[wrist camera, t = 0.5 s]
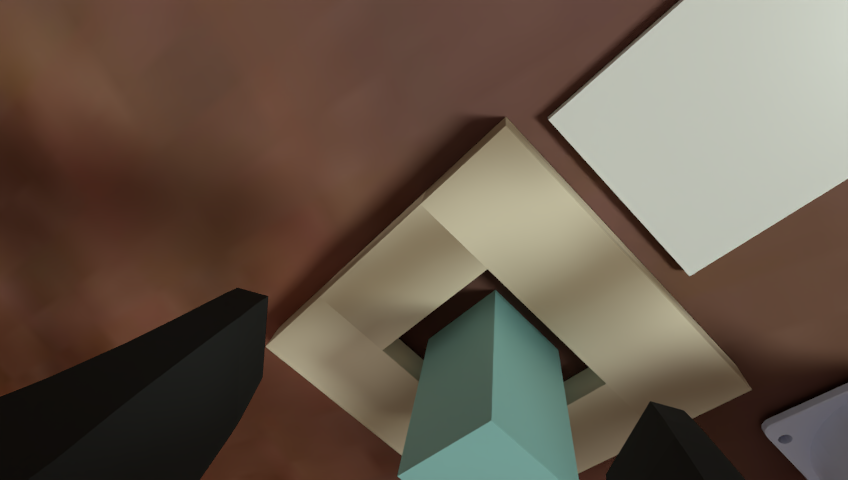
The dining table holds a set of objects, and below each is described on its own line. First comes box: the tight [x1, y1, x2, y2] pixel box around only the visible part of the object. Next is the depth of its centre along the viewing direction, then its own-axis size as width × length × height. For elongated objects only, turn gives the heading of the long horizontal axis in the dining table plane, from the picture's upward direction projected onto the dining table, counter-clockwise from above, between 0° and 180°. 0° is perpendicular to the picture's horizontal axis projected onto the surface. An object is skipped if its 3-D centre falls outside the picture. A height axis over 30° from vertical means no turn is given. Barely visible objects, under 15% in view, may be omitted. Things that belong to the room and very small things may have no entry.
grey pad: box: [547, 0, 848, 276], centre depth 15 cm, size 8×8×1 cm
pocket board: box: [266, 117, 752, 473], centre depth 20 cm, size 14×14×1 cm
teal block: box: [397, 290, 579, 480], centre depth 18 cm, size 4×4×7 cm
